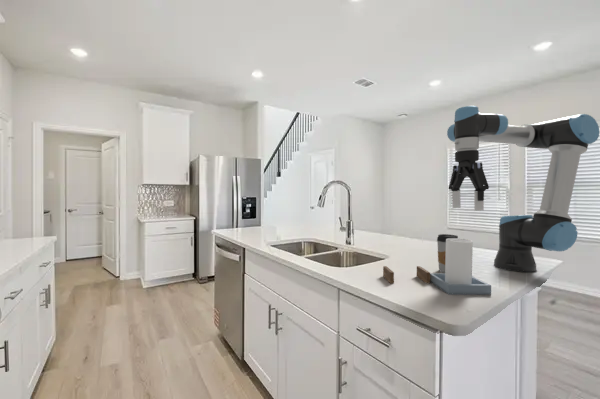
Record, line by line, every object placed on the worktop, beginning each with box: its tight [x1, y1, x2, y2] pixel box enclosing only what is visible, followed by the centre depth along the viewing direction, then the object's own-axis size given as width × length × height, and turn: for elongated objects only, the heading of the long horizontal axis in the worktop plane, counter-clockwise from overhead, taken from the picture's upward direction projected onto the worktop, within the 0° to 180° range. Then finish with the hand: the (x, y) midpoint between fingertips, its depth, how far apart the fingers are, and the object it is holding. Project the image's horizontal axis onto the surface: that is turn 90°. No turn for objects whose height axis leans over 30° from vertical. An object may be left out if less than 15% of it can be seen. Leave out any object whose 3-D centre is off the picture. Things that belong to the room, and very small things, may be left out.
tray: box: [430, 272, 492, 296], centre depth 104 cm, size 14×14×3 cm
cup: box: [444, 237, 474, 284], centre depth 103 cm, size 8×8×16 cm
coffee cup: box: [436, 233, 459, 273], centre depth 124 cm, size 8×8×15 cm
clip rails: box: [382, 265, 431, 284], centre depth 112 cm, size 14×9×4 cm, turn 91°
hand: (467, 209), depth 108 cm, fingers open, 13 cm apart
